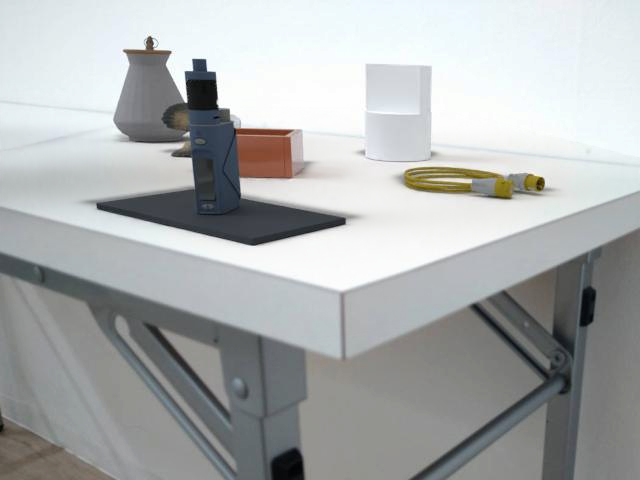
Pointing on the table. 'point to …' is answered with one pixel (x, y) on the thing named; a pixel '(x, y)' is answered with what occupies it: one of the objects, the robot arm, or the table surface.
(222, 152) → the vaping device
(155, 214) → the mat
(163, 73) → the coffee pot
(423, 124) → the base with upright slab
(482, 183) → the extension cord
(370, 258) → the table surface
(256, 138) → the open box
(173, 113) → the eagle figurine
